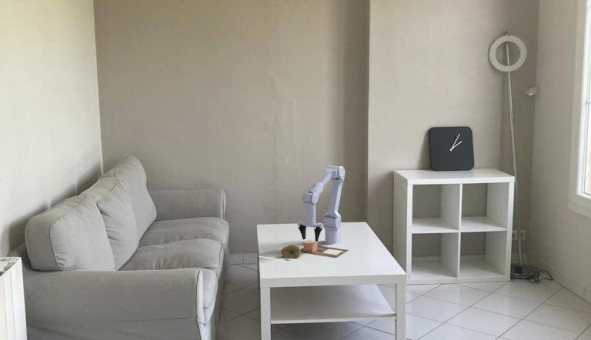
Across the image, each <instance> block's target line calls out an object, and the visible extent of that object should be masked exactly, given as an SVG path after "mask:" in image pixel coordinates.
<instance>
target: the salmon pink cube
mask: <svg viewBox="0 0 591 340" xmlns="http://www.w3.org/2000/svg"><path fill="white" fill-rule="evenodd" d="M317 246H318V241H315V240H306V241H304V242H303V247H304V251H307V252H314V251H316V250H317Z"/></svg>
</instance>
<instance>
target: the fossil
mask: <svg viewBox="0 0 591 340" xmlns="http://www.w3.org/2000/svg"><path fill="white" fill-rule="evenodd" d="M300 249H301V248H300V246H298V245H295V244H289V245H288V246H284V247H283V248H282V249H281V250H280V251H281V255H282V259H284V261H286V262H287V261H288V262H290V260H291V259H293V260H296V259H298V258H300V255H301V254H302V253H301V250H300Z"/></svg>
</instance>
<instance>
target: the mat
mask: <svg viewBox="0 0 591 340" xmlns="http://www.w3.org/2000/svg"><path fill="white" fill-rule="evenodd" d="M341 252H343V251H340V250H333V249H328V250H326V251H324V252H323V253H324V254H330V255H337V254H339V253H341Z"/></svg>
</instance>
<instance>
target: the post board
mask: <svg viewBox="0 0 591 340" xmlns="http://www.w3.org/2000/svg"><path fill="white" fill-rule="evenodd" d="M328 249H333V250H340V251H343V252H341V253H339V254H337V255H330V254H324V253H323V252H324V251H326V250H328ZM300 250H301V254H308V255H315V256H321V257H326V258H327V257H328V258H333V259H337V258H339V257H340V256H342V255H343V254H345V253H347V252H349V251H350V249H345V248H337V247H330V246H323V245H317V250H316V251H314V252H307V251H304V246H303V247H302V248H300Z"/></svg>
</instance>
